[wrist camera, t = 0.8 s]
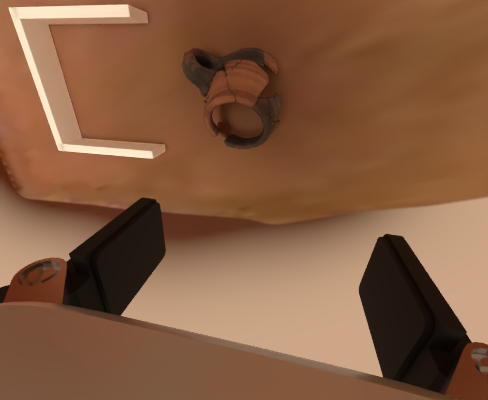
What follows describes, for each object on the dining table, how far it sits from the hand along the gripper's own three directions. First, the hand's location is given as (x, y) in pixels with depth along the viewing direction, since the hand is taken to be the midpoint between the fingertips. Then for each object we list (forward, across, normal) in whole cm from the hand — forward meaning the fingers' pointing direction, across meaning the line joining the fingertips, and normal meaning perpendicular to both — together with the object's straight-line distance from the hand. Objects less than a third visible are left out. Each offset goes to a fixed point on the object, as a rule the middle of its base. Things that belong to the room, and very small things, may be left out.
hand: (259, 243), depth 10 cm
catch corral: (+23, +23, -4) cm, 33 cm away
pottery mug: (+23, +6, -5) cm, 24 cm away
